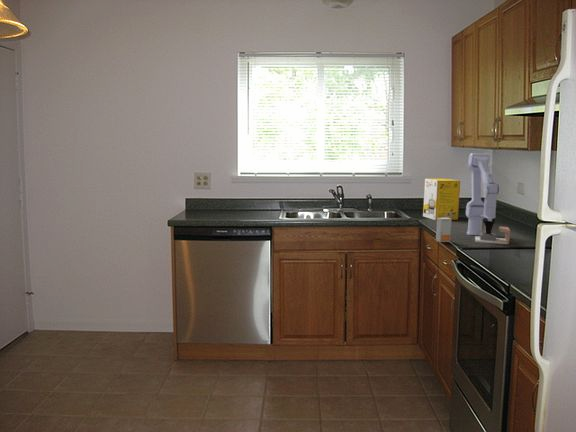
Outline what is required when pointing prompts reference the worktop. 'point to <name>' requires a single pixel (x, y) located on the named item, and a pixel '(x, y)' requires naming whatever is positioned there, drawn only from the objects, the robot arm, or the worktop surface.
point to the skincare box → (443, 229)
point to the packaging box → (441, 198)
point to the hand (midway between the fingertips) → (488, 233)
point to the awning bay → (494, 237)
